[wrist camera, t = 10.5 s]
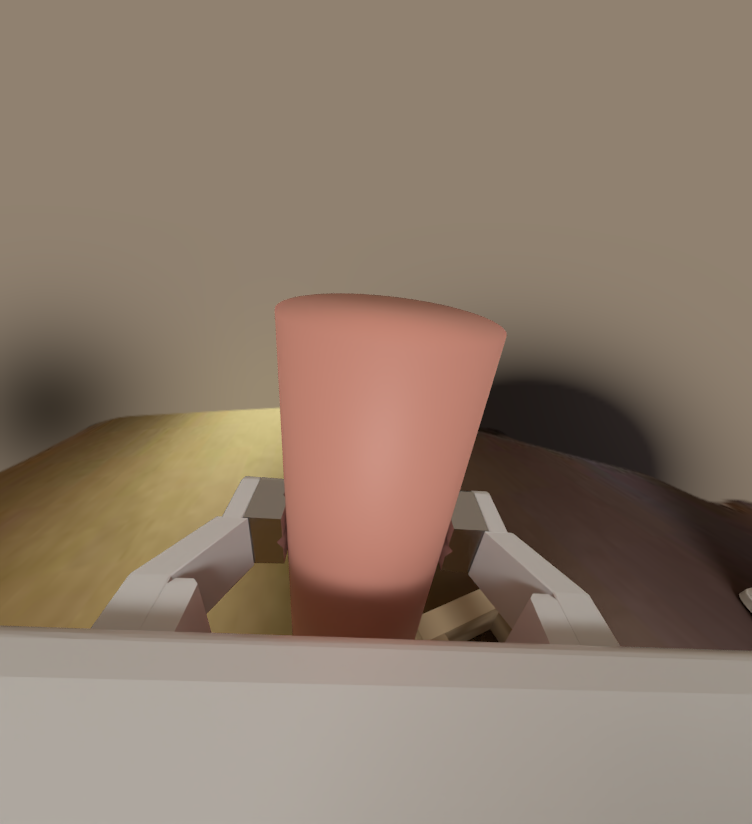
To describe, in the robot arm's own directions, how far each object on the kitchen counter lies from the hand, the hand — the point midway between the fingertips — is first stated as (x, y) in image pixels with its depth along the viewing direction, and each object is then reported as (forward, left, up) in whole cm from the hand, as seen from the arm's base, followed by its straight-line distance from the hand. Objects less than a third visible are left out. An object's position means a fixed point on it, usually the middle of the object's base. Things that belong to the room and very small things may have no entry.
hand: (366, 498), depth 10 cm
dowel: (0, +1, -9) cm, 9 cm away
